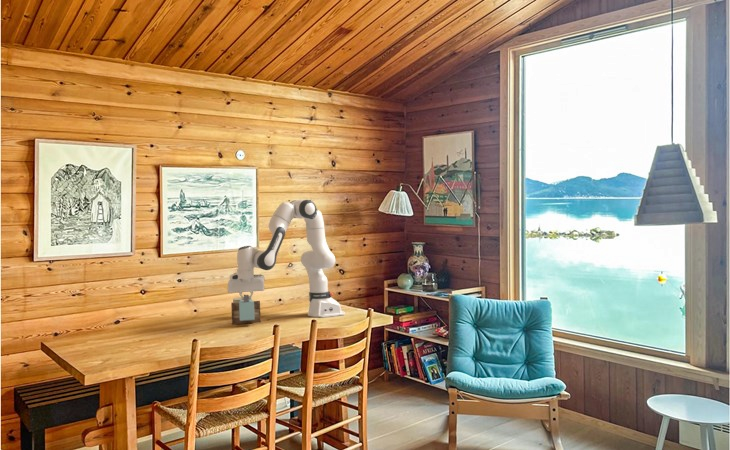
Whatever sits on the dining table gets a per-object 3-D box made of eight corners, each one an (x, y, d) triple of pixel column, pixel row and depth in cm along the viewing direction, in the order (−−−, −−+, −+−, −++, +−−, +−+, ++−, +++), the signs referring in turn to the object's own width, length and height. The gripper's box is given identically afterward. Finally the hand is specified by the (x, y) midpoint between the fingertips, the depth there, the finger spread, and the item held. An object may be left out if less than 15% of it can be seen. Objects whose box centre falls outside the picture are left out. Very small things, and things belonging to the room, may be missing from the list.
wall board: (260, 321, 339) (259, 300, 338) (261, 323, 333) (260, 302, 333) (231, 323, 335) (231, 302, 334) (232, 325, 329) (231, 304, 328)
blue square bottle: (253, 316, 335) (252, 293, 334) (254, 319, 326) (253, 295, 325) (239, 318, 333) (238, 294, 332) (239, 320, 324) (239, 296, 323)
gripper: (264, 273, 332) (264, 297, 333) (227, 275, 327) (227, 300, 327) (264, 274, 326) (265, 299, 327) (227, 276, 321) (228, 301, 321)
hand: (246, 299), depth 327 cm, fingers closed on blue square bottle, 2 cm apart
